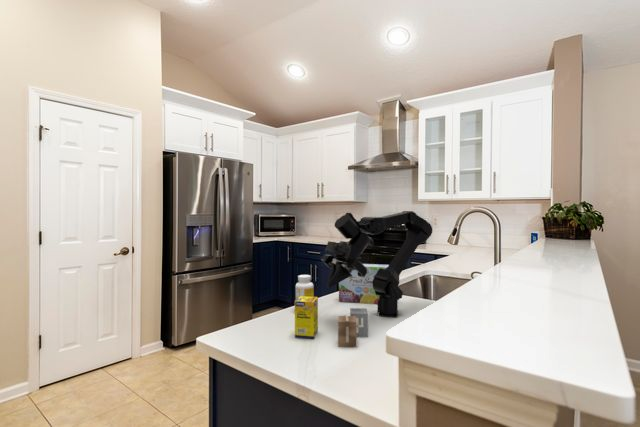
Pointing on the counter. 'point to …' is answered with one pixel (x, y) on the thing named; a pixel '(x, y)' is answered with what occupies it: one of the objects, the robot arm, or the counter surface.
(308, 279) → the supplement bottle
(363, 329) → the slate block
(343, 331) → the walnut block
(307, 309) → the supplement box
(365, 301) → the snack box
